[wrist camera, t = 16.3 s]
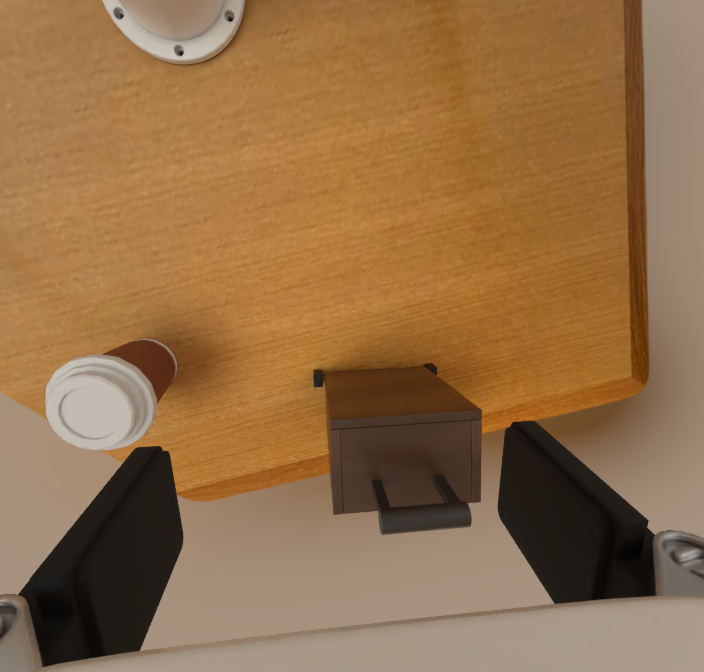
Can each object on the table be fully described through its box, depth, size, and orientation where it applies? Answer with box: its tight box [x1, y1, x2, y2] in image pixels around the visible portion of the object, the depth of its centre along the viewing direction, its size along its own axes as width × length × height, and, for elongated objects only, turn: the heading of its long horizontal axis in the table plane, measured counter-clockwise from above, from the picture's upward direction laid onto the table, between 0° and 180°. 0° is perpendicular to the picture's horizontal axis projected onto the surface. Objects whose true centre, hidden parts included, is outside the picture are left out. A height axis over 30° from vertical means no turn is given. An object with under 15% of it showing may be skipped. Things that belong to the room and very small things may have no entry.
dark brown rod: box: [314, 364, 437, 387], centre depth 46 cm, size 2×15×2 cm, turn 91°
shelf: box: [325, 367, 482, 535], centre depth 36 cm, size 21×12×8 cm
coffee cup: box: [46, 338, 177, 450], centre depth 38 cm, size 9×9×12 cm
